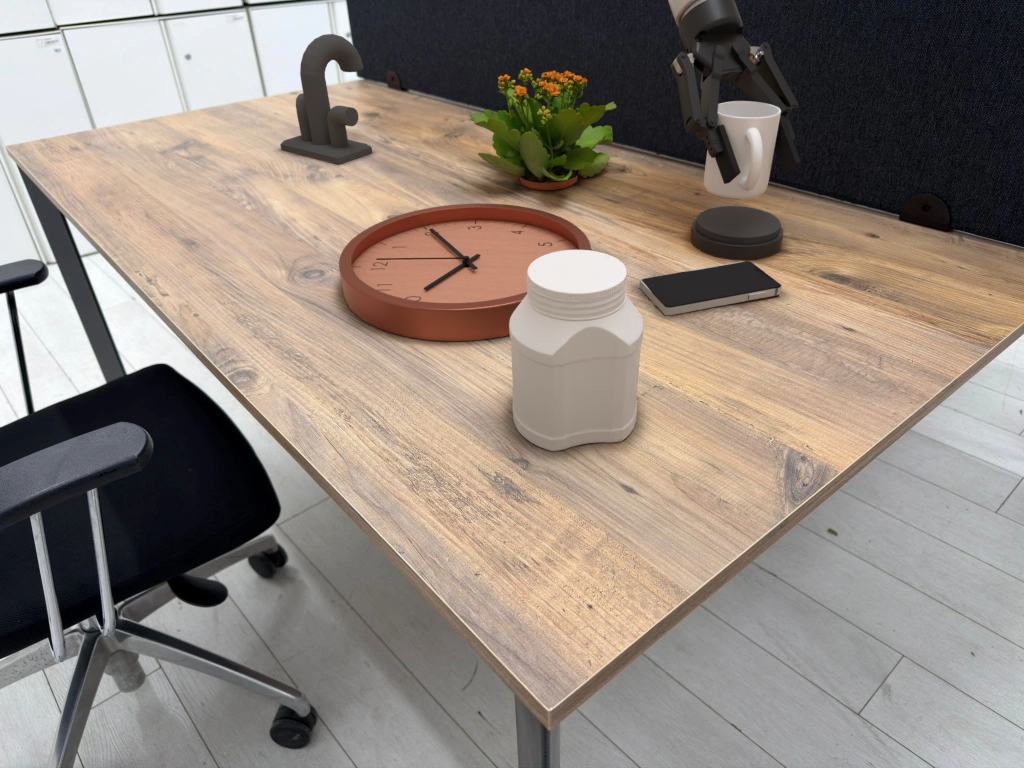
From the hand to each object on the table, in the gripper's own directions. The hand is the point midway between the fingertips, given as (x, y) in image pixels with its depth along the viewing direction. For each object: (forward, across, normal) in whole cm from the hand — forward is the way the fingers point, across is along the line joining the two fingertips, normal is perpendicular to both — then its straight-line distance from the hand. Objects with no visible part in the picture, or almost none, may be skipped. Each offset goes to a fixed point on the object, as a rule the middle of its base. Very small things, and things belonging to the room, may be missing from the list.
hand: (762, 172), depth 90 cm
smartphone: (+13, +11, -2) cm, 17 cm away
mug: (0, +1, -5) cm, 5 cm away
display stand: (+5, 0, -10) cm, 11 cm away
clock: (+2, +37, -13) cm, 39 cm away
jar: (+24, +37, +9) cm, 45 cm away
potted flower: (-18, +14, -34) cm, 41 cm away
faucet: (-45, +42, -60) cm, 86 cm away
